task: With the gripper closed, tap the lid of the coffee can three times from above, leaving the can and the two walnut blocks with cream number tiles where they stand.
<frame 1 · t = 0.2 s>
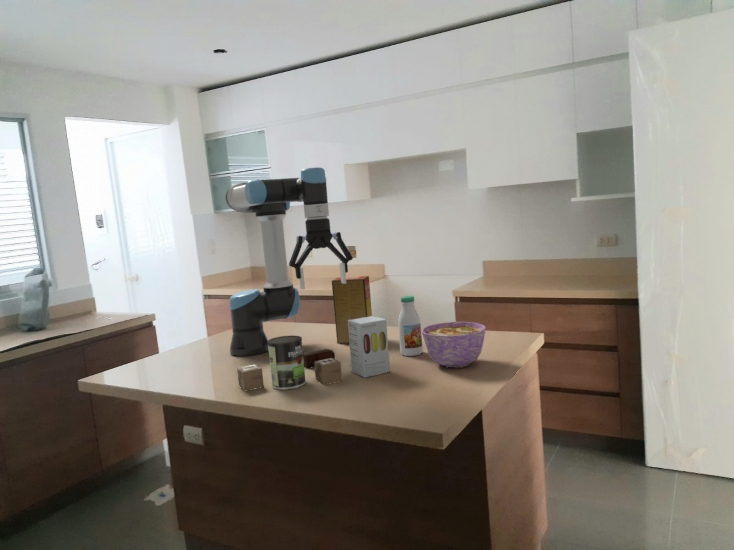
hand: (323, 286, 175), 28 cm above the table, tool pointing down, fingers open, 13 cm apart
number block right: (328, 380, 169), on the table
food packaging: (355, 340, 219), on the table
coffee can: (289, 385, 169), on the table
brick: (319, 365, 189), on the table
number block left: (251, 387, 170), on the table
bowl of food: (455, 364, 175), on the table
milk bottle: (411, 354, 193), on the table
supplement box: (370, 372, 175), on the table
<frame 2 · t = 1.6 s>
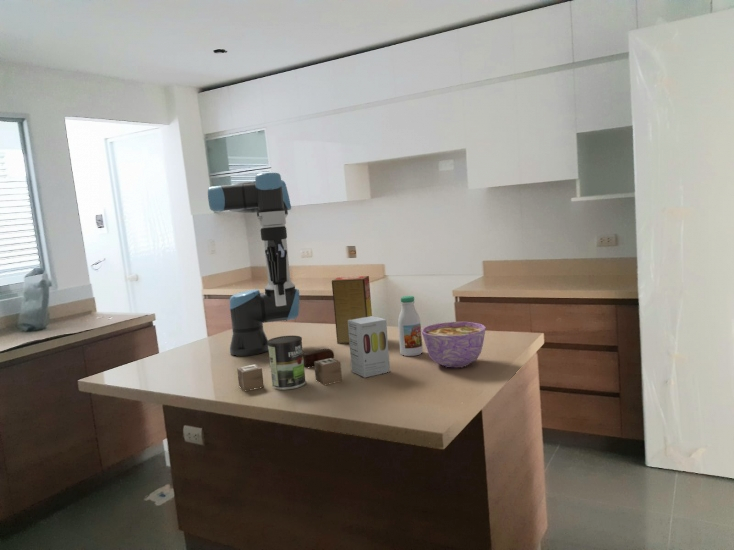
hand: (281, 305, 166), 24 cm above the table, tool pointing down, fingers closed
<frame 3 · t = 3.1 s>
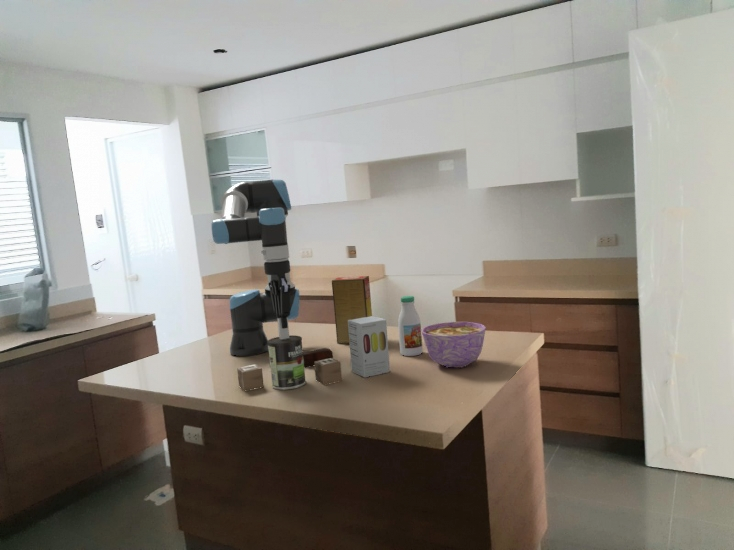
hand: (284, 338, 167), 14 cm above the table, tool pointing down, fingers closed
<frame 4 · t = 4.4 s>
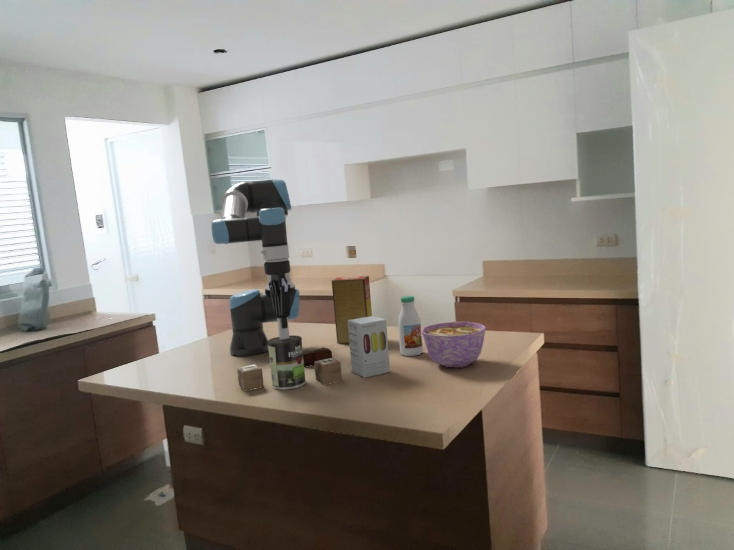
hand: (284, 338, 167), 14 cm above the table, tool pointing down, fingers closed
coffee can: (289, 385, 169), on the table, touching gripper
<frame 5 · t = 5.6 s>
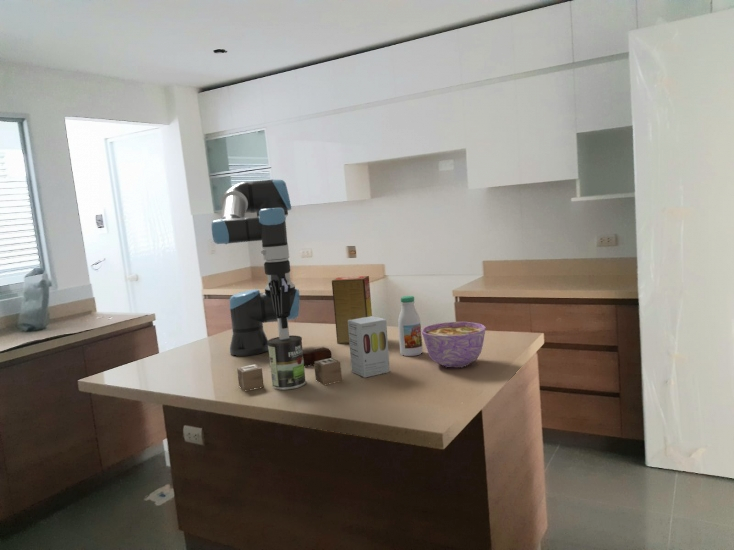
hand: (284, 338, 167), 14 cm above the table, tool pointing down, fingers closed
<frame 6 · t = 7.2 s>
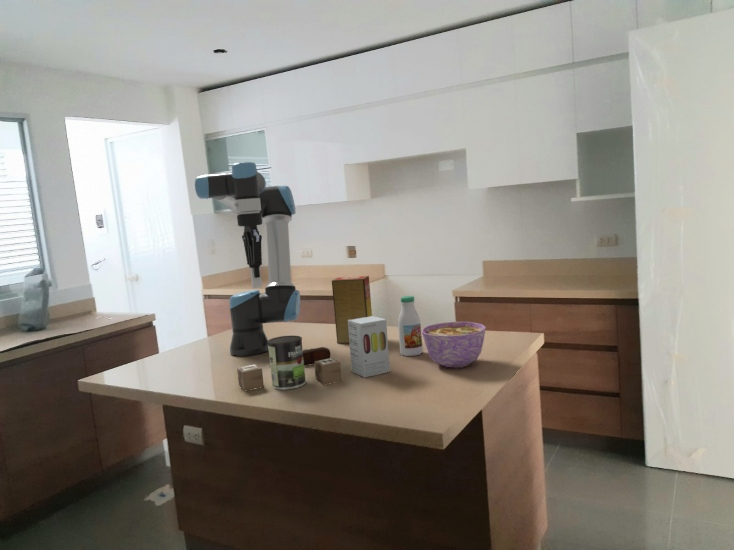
hand: (257, 287, 176), 29 cm above the table, tool pointing down, fingers closed
coffee can: (289, 385, 169), on the table
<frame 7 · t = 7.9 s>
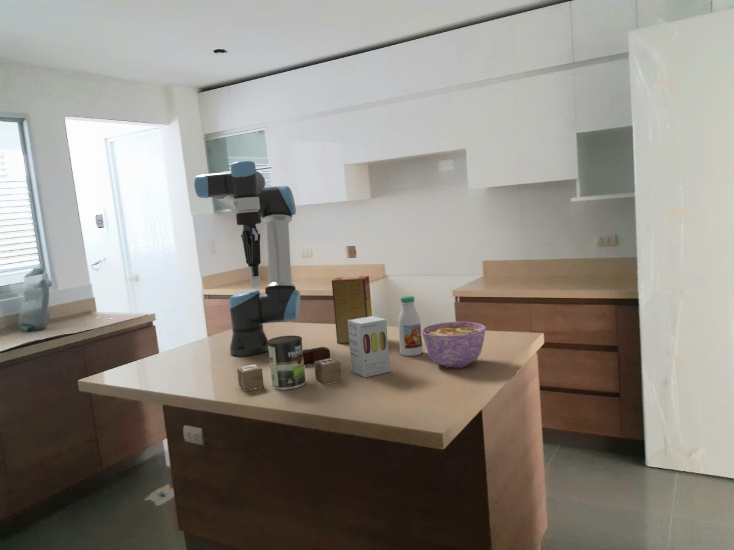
hand: (255, 286, 176), 29 cm above the table, tool pointing down, fingers closed
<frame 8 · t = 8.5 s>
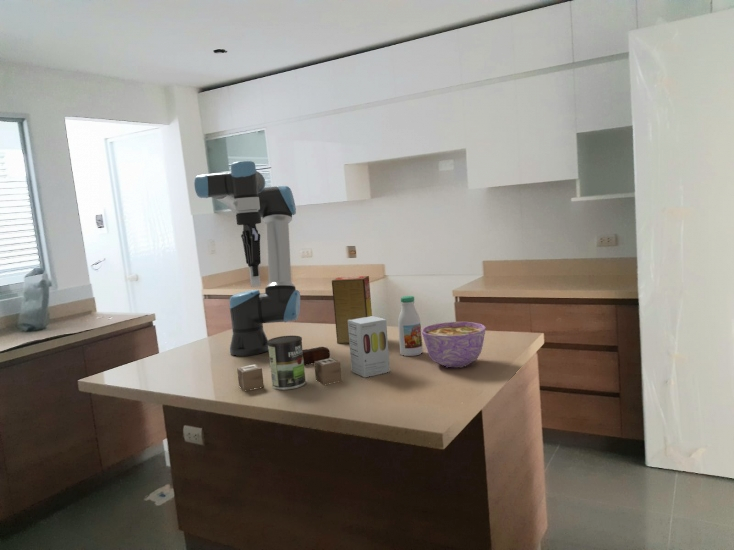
hand: (255, 286, 176), 29 cm above the table, tool pointing down, fingers closed
at the end: coffee can moved 0.2 cm from its start; coffee can tilted 0°; number block right moved 0.1 cm from its start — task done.
